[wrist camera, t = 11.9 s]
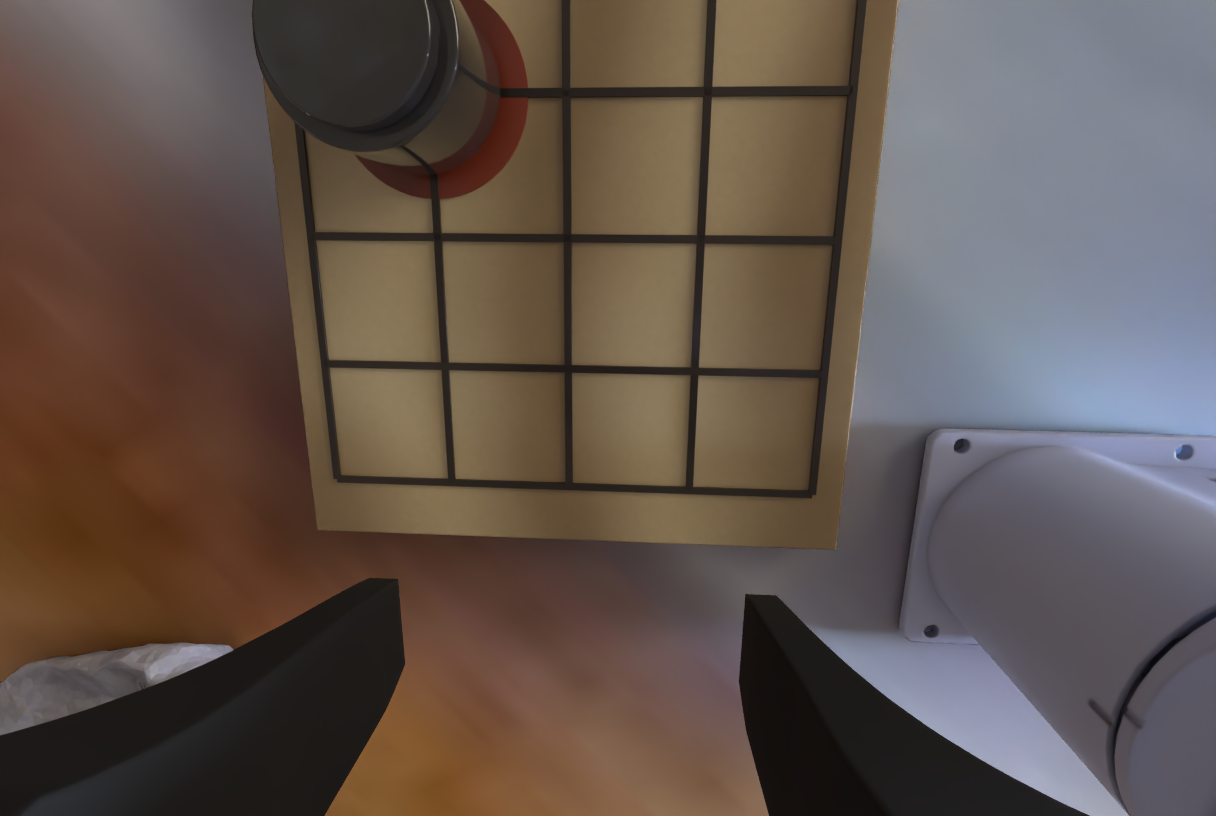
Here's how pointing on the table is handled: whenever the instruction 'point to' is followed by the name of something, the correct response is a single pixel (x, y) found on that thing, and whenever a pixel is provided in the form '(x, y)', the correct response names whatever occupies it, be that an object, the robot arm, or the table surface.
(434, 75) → the black canister
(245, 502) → the table surface
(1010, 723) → the table surface
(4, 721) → the stone block
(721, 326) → the board
